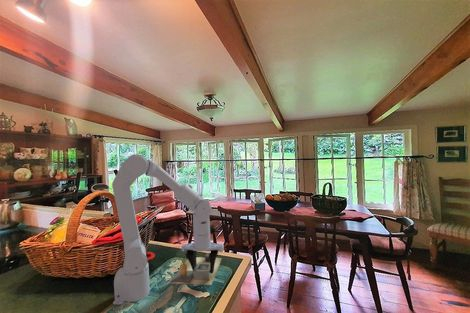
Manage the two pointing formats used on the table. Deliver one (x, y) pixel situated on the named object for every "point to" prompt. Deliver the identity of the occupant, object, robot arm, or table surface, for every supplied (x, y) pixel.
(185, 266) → the square tray with peg
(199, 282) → the board
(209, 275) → the square metal tube
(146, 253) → the tow hook
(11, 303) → the table surface
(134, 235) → the robot arm
